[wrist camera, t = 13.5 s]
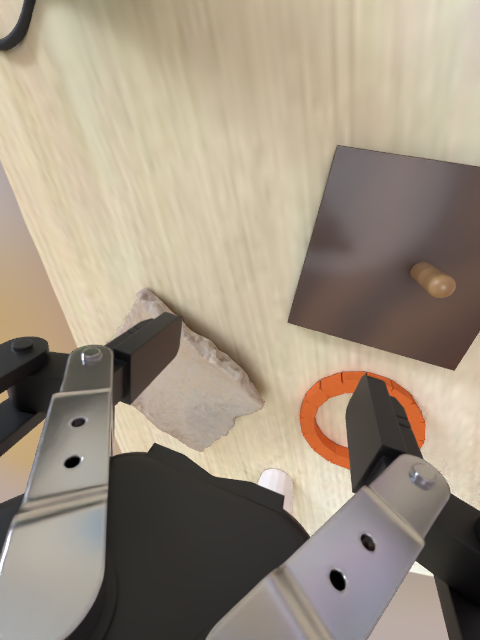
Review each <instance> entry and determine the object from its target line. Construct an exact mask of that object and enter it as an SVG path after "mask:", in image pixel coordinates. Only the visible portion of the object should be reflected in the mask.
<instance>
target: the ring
mask: <svg viewBox="0 0 480 640" xmlns="http://www.w3.org/2000/svg"><path fill="white" fill-rule="evenodd" d="M342 375H343V376H342ZM363 375H368V376H371V377H374V378H377V379H380V380H383V381H385V383H386V386H387V389H388V392H389V395H390V396H393V397H395V398H396V399H397V400H398V401H399V402H400V404H401V405H402V406H403V407H404V409H405V412H406V414H407V417H408V421H409V422H410V425H411V427H412V428H411V430H413V433H414V435H415V438H416V441H417V443H418V446H419V449H420V448H421V447H422V445H423V444H424V440H425V420H424V418H423V415H422V413H421V411H420V409H419V407H418V406H417V404H416V402H415V400H414V399H413V397H412V395H411V394H410V393H409V392H408V391H406V390H405V389H404V388H402V387H401V386H400V385H398V384H397V383H396V382H394V381H393V380H391V381H390V379H389V378H385V377H382V376H379V375H375V374H372V373H369V372H367V374H366V373H365V372H342V374H341V373H337V374H335V375H332V376H329V377H326V378H324V379H321V381H320V380H319V381H318V382H317V383H316V384H315V385H314V386H313V387H312V388H311V389H310V390H309V391H308V392H307V394H306V395H305V398H304V400H303V403H302V406H301V411H300V424H301V430H302V433H303V436H304V437H305V439H306V440H307V442H308V443H309V445H310V446H311V448H312V449H313V450H314V451H315V452H317V453H318V454H319V455H321V456H322V457H323V458H325V459H326V460H327V461H330V462H331V463H334V464H336V465H339V466H341V467H344V468H347V469H350V461H349V450H348V448H345V447H342V446H339V445H337V444H335V443H334V442H332V441H331V440H330V439H328V438H327V437H326V436H324V435H323V433H322V432H321V430H320V429H319V427H318V426H317V424H316V419H315V415H316V412H317V410H318V408H319V407H320V406H321V405H322V404H323V403H324V402H326V401H327V400H328V399H329V398H331V397H334V396H337V395H340V394H344V393H354V391H355V389H356V387H357V385H358V383H359V381H360V379H361V377H362V376H363Z"/></svg>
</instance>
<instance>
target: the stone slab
mask: <svg viewBox="0 0 480 640" xmlns="http://www.w3.org/2000/svg"><path fill="white" fill-rule="evenodd" d="M163 312H169V313H172V314H175V313H173V312H172V311H171V310H170V309H169V308H168V307H167V306H166V305H165V304H164V303H163V302H162V301H161V300H160V299H159V298H158V297H157V296H154V295H153V293H152V292H151V291H149V290H148V289H142V290H141V291H139V292H137V299H136V302H135V304H134V305H133V307H132V309H131V310H130V312H129V313H128V314H127V315H126V318H125V323H123V324H122V325H121V326H120V327H119V328H118V329H117V331H116V333H115V334H114V335H113V336H112V339H111V340H110V341H112V340H113V339H115V338H116V337H118V336H119V335H121V334H122V333H124V332H126V331H127V330H128V329H130V328H133V326H134V325H136V324H137V323H139V322H140V321H144V320H147V319H150V318H153V319H155V318H156V317H158V316H159V315H161V314H162V313H163ZM175 315H176V314H175ZM110 341H109V342H110ZM109 342H107V343H109ZM264 403H265V401H264V400H263V398H262V397H261V395H260V394H259V393H258V391H257V390H256V388H255V385H254V383H252V382H250V380H249V377H248V375H247V374H246V373H245V371H244V370H243V369H242V368H241V367H240V366H239V365H238V364H237V363H235V362H234V361H232V360H231V358H230V357H229V356H228V355H227V354H226V353H224V352H221V351H219V350H218V349H217V348H216V346H215V345H214V343H213V342H212V341H211V340H209V339H207V338H205V337H203V336H201V335H199V334H197V333H195V332H193V331H191V330H190V329H189V328H188V327H187V326H186V324H185V323H184V322H183V321H182V330H181V339H180V347H179V351H178V353H177V355H176V357H175V358H174V359H173V360H172V361H171V362H170V364H169V365H168V366H167V367H166V368H165V369H164V370H163V371H162V372H161V373H160V374H159V375H158V376H157V377H156V378H155V379H154V381H153V382H152V383H151V384H150V385H149V386H148V387H147V388H146V389H145V390H144V391H143V392H142V393H141V394H140V395H139V396H138V397H137V399H136V400H135V401H134V402H133V403H132V404H131V405H132V406H133V407H135V408H136V409H137V410H139V411H140V412H142V413H143V414H144V415H145V416H146V418H147V419H148V420H149V421H150V422H152V423H153V424H154V425H155V426H156V427H157V428H158V429H160V430H161V431H163V432H166V433H168V434H170V435H171V436H173V437H175V438H176V439H178V440H179V441H180V442H182V443H183V444H185V445H187V446H188V447H190V448H192V449H194V450H197V451H199V452H202V451H203V450H204V449H205V448H207V447H209V446H211V444H212V443H213V442H214V441H216V440H218V439H219V438H220V437H221V436H226V435H227V434H228V431H229V430H230V429H231V428H233V427H234V424H235V417H237V416H243V415H248V414H252V413H253V412H256V411H258V410H260V409H262V408H263V407H264Z"/></svg>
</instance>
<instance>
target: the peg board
mask: <svg viewBox="0 0 480 640" xmlns="http://www.w3.org/2000/svg"><path fill="white" fill-rule="evenodd" d="M288 323H291V324H294V325H298V326H301V327H305V328H308V329H312V330H315V331H319V332H322V333H326V334H329V335H333V336H336V337H340V338H343V339H346V340H350V341H353V342H357V343H360V344H364V345H367V346H371V347H374V348H378V349H381V350H385V351H388V352H391V353H395V354H398V355H402V356H405V357H409V358H412V359H416V360H419V361H423V362H426V363H430V364H433V365H437V366H440V367H443V368H447V369H450V370H455V369H456V367H457V366H458V364H459V363H460V361H461V360H462V358H463V356H464V355H465V353H466V352H467V350H468V349H469V347H470V345H471V344H472V342H473V341H474V339H475V338H476V336H477V334H478V333H479V331H480V167H477V166H471V165H464V164H458V163H451V162H444V161H438V160H431V159H425V158H418V157H412V156H405V155H399V154H392V153H385V152H379V151H372V150H366V149H359V148H353V147H346V146H340V145H337V148H336V152H335V155H334V159H333V162H332V166H331V169H330V173H329V176H328V180H327V184H326V187H325V191H324V194H323V198H322V201H321V205H320V208H319V212H318V216H317V219H316V223H315V226H314V230H313V233H312V237H311V240H310V244H309V248H308V251H307V255H306V258H305V262H304V265H303V269H302V272H301V276H300V279H299V283H298V287H297V290H296V294H295V297H294V301H293V304H292V308H291V311H290V315H289V319H288Z"/></svg>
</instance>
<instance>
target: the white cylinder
mask: <svg viewBox="0 0 480 640" xmlns="http://www.w3.org/2000/svg"><path fill="white" fill-rule="evenodd" d="M258 485H260V486H262V487H265V488H267V489H270V490H272V491H274V492H277V493H279V494H282V495H284V496H285V498H284V505H283V509H285V510H286V511H287V512H289V513H290V514H291V515H292V509H293V481H292V479H291V477H290V476H288V475H287V474H286V473H285V472H283V471H281V470H277V469H267V470H265V471H263V473H262V474H261V477H260V479H259V482H258Z"/></svg>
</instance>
